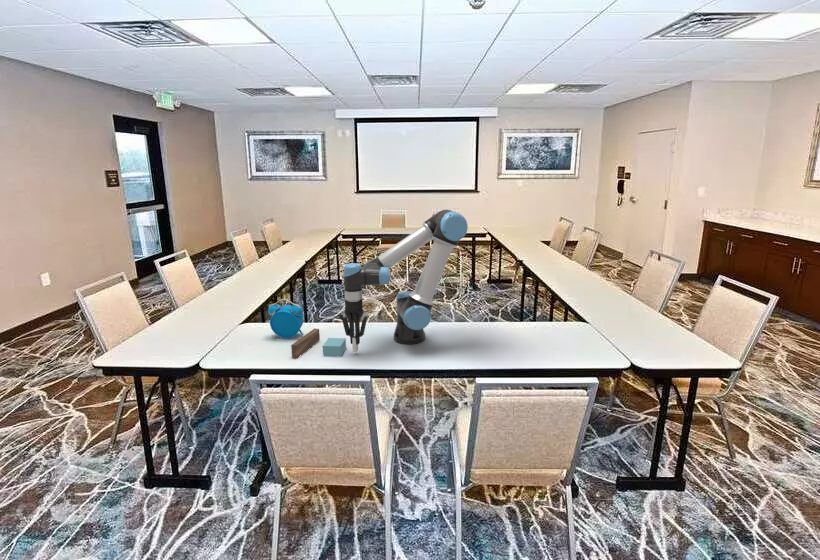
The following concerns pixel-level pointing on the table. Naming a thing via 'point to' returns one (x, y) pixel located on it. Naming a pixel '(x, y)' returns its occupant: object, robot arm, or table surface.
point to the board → (305, 343)
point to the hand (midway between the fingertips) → (355, 350)
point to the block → (334, 346)
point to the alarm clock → (286, 319)
